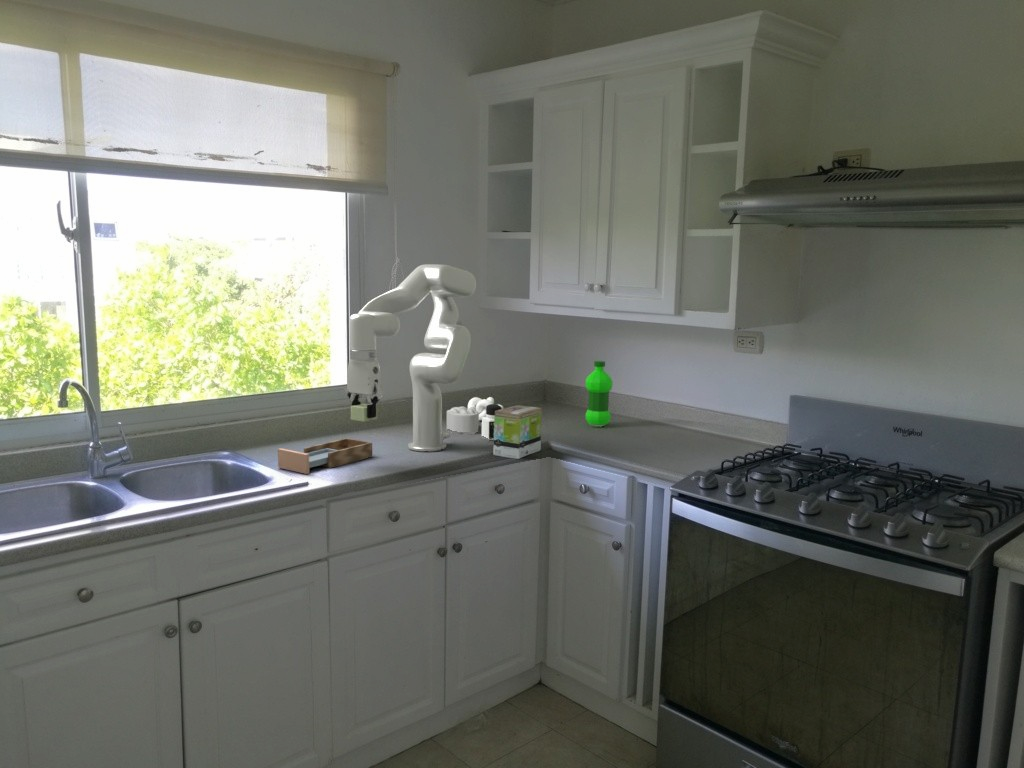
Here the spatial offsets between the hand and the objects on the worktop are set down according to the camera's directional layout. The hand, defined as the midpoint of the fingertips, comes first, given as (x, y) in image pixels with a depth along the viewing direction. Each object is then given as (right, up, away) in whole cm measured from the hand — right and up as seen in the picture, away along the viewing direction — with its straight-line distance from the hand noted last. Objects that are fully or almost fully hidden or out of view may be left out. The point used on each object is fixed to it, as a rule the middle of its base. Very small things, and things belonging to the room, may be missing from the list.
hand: (363, 415), depth 235 cm
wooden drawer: (-15, -15, +2) cm, 21 cm away
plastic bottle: (+77, -7, +69) cm, 103 cm away
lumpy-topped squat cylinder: (+26, -8, +56) cm, 62 cm away
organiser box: (-10, -14, +10) cm, 20 cm away
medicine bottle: (+38, -10, +44) cm, 59 cm away
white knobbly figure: (+32, -5, +77) cm, 83 cm away
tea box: (+46, -13, +23) cm, 53 cm away
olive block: (0, -1, 0) cm, 1 cm away
